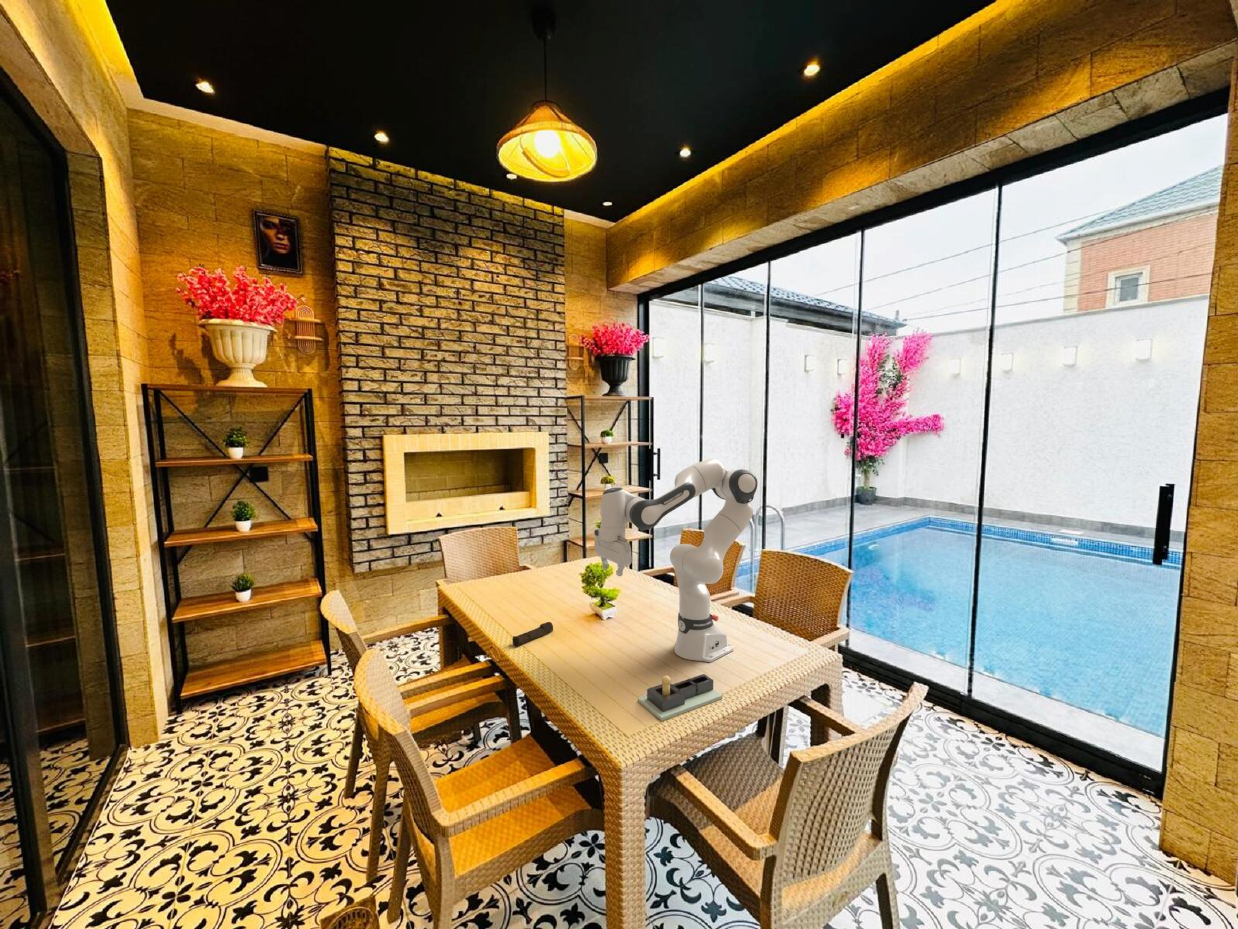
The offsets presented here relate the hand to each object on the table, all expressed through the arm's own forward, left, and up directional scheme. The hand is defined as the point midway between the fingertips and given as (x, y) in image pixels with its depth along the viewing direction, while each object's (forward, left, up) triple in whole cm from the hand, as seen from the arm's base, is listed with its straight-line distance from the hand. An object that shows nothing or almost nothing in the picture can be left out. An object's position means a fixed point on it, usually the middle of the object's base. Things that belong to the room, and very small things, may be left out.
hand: (612, 572), depth 177 cm
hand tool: (+18, -29, -32) cm, 47 cm away
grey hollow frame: (-4, +35, -30) cm, 46 cm away
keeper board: (-4, +35, -31) cm, 47 cm away
